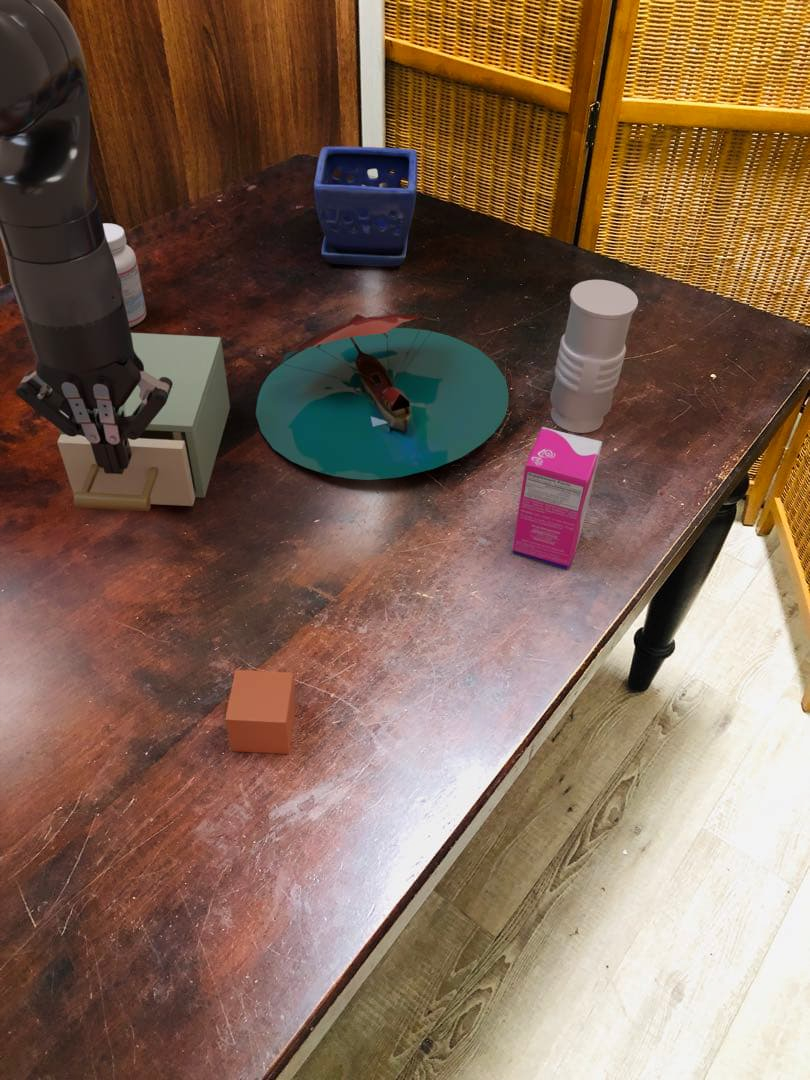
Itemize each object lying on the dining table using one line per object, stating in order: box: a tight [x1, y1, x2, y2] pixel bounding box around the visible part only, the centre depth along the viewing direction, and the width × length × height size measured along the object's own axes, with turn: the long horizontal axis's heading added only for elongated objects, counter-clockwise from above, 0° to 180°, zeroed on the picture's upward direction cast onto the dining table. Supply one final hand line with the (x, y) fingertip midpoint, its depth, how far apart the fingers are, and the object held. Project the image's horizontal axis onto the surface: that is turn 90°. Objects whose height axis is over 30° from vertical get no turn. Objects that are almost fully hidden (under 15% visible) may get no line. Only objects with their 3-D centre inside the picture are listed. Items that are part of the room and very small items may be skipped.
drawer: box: [56, 430, 196, 512], centre depth 85 cm, size 19×11×7 cm, turn 178°
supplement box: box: [511, 426, 603, 571], centre depth 81 cm, size 6×6×12 cm
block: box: [224, 669, 297, 755], centre depth 68 cm, size 4×4×4 cm
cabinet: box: [57, 332, 231, 499], centre depth 89 cm, size 15×13×9 cm
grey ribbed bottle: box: [549, 279, 639, 434], centre depth 93 cm, size 7×7×15 cm
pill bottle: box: [102, 222, 147, 328], centre depth 105 cm, size 6×6×11 cm
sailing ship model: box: [255, 313, 510, 481], centre depth 95 cm, size 28×28×11 cm
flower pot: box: [313, 146, 418, 267], centre depth 119 cm, size 13×13×12 cm
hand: (117, 467), depth 79 cm, fingers closed
